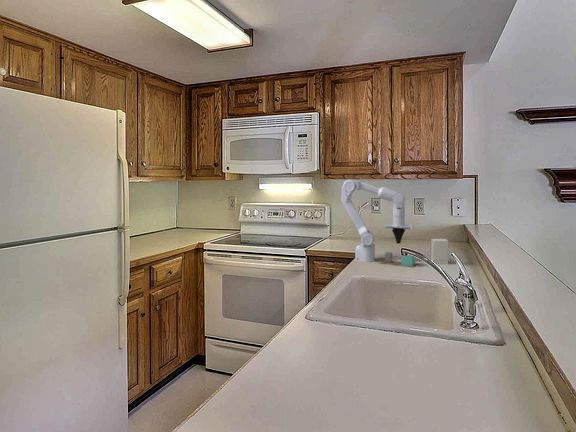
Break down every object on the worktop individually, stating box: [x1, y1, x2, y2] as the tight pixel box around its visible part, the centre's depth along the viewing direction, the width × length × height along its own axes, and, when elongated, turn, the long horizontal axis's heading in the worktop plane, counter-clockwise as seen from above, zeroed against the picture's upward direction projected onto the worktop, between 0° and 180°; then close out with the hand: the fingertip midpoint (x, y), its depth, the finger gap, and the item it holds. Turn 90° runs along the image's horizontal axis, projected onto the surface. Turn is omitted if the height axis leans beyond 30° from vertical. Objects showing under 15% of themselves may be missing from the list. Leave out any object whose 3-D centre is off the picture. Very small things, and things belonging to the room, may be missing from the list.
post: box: [384, 251, 393, 263], centre depth 197 cm, size 3×3×5 cm
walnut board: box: [377, 259, 420, 269], centre depth 194 cm, size 18×9×1 cm, turn 55°
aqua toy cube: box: [400, 254, 416, 267], centre depth 191 cm, size 5×5×7 cm
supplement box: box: [429, 238, 449, 265], centre depth 195 cm, size 7×7×13 cm
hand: (398, 243), depth 199 cm, fingers closed
